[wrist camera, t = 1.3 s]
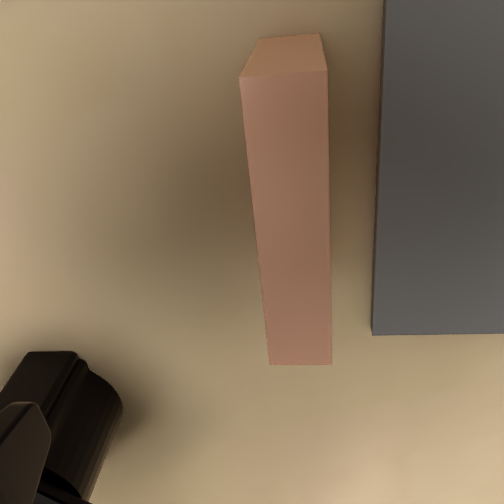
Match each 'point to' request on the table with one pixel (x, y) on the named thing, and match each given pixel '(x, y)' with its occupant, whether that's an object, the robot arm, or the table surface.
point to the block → (291, 193)
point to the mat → (440, 170)
